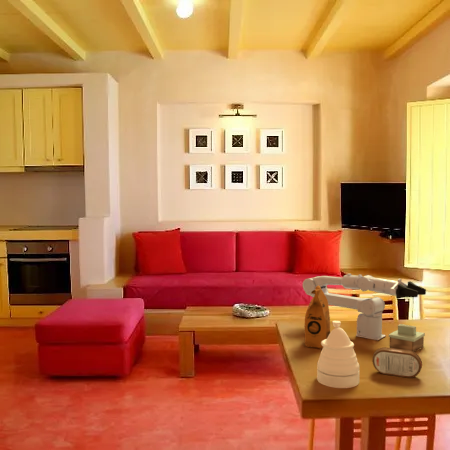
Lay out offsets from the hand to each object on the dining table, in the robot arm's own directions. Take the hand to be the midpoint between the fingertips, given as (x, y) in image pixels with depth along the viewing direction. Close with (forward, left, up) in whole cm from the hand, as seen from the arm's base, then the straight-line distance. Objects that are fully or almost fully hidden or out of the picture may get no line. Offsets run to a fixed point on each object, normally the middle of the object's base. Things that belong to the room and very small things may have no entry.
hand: (421, 293), depth 189 cm
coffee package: (-32, -22, -21) cm, 44 cm away
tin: (+5, -35, -21) cm, 41 cm away
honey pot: (-7, -51, -21) cm, 56 cm away
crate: (-4, -4, -20) cm, 21 cm away
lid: (-4, -4, -16) cm, 17 cm away
